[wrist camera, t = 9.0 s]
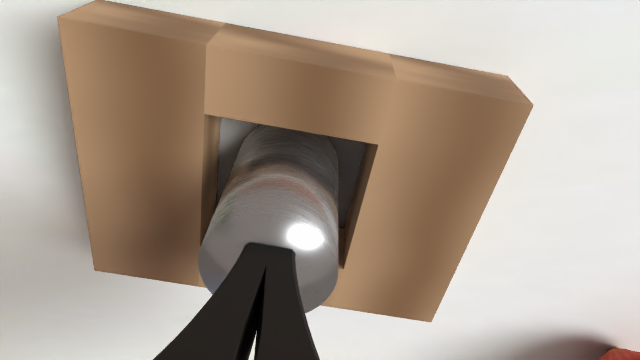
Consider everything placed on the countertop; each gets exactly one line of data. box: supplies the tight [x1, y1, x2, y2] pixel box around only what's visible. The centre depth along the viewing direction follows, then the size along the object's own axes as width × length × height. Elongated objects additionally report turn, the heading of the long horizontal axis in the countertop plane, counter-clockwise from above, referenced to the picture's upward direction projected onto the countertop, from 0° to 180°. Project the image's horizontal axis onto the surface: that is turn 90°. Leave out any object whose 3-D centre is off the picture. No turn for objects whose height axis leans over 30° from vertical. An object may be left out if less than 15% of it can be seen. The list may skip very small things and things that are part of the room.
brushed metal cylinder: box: [198, 124, 338, 313], centre depth 15 cm, size 4×4×6 cm
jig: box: [57, 0, 533, 322], centre depth 17 cm, size 14×10×2 cm
